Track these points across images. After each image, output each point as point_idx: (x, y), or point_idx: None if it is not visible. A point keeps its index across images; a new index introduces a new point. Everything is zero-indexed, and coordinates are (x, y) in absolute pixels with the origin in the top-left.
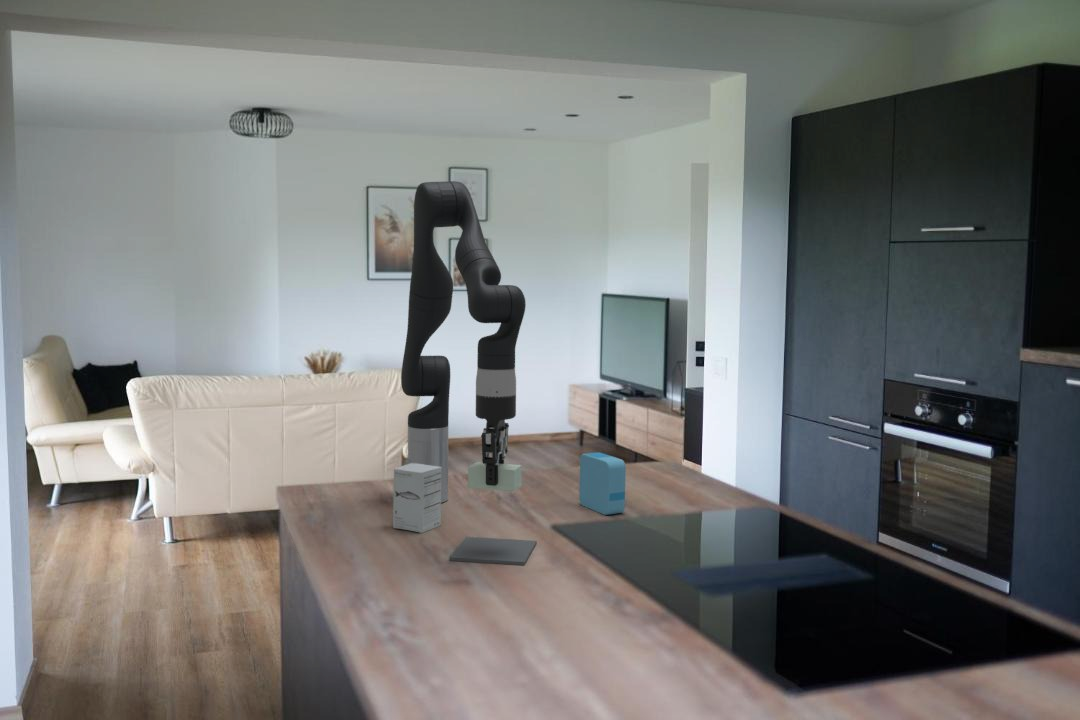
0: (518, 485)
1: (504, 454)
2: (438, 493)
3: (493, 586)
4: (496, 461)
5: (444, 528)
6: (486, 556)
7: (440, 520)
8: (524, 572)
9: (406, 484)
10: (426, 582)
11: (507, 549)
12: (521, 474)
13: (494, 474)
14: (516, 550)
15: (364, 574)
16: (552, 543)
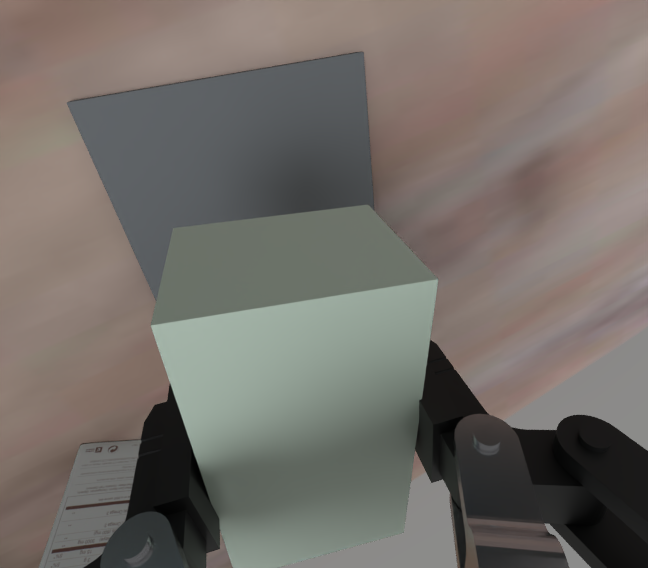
0: (264, 225)
1: (156, 557)
2: (69, 540)
3: (566, 80)
4: (604, 431)
5: (101, 424)
6: (341, 202)
7: (79, 455)
8: (432, 24)
9: None
10: (537, 251)
11: (243, 170)
12: (171, 270)
13: (457, 373)
14: (241, 134)
15: (496, 369)
16: (10, 27)
